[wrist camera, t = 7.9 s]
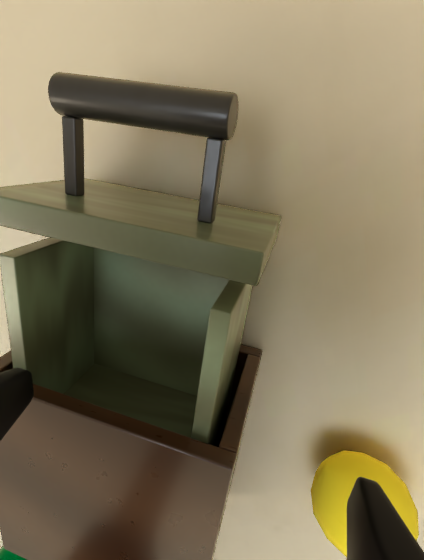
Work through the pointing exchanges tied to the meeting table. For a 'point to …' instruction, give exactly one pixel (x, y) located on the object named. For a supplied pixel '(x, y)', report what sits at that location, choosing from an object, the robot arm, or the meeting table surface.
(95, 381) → the drawer
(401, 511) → the lemon
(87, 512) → the cabinet
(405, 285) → the meeting table surface
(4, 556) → the soda can
